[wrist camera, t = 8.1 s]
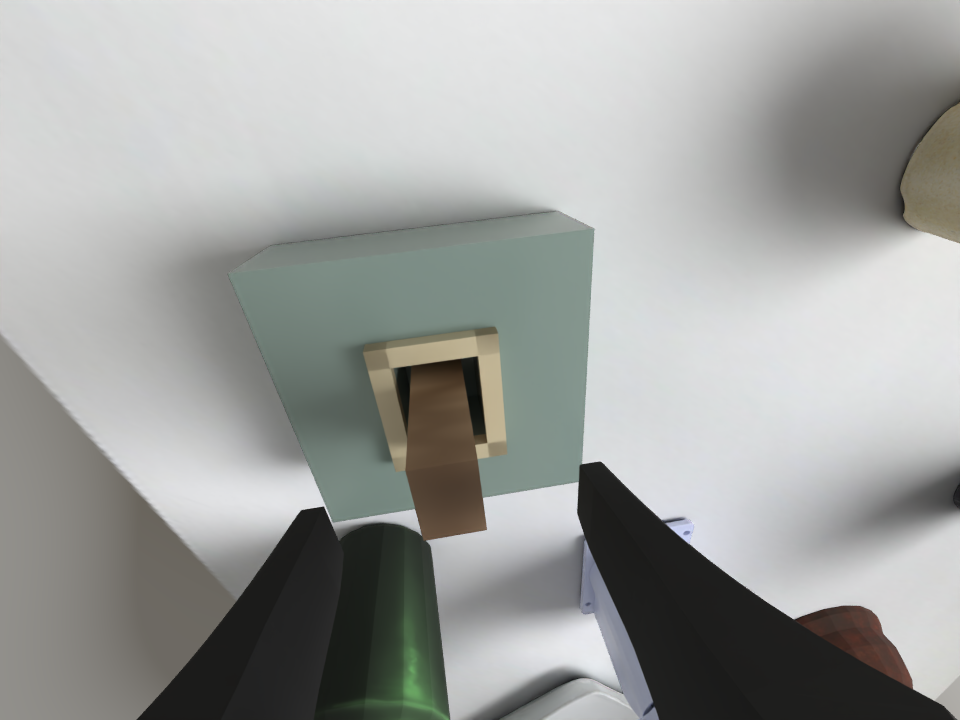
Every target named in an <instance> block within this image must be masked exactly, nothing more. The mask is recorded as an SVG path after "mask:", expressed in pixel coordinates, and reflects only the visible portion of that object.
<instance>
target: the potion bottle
mask: <svg viewBox="0 0 960 720" xmlns="http://www.w3.org/2000/svg"><path fill="white" fill-rule="evenodd" d="M339 543H340V545H341V548H342V550H343V552H344V557H343V568H342V579H341V587H340V595H339V600H338V604H337V609H336V614H335V619H334V623H333V628H332V633H331V637H330V642H329V646H328V651H327V655H326V660H325V664H324V669H323V674H322V678H321V683H320V687H319V692H318V698H317V703H316V709H315V714H314V720H450V713H449V704H448V695H447V686H446V677H445V668H444V659H443V650H442V641H441V632H440V623H439V614H438V605H437V596H436V588H435V579H434V570H433V561H432V554H431V547H430V545H429V544H428V543H427V542H426V541H423V537H422V536H421V535H420V534H419V533H417V532H415V531H413V530H411V529H408V528H406V527H404V526H399V525H392V524H377V525H370V526H365V527H362V528H360V529H358V530H355V531H353V532H351V533H349V534H347V535H346V536H345V537H344V538H342V539H341V540H340V541H339Z"/></svg>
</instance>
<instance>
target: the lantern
mask: <svg viewBox="0 0 960 720" xmlns="http://www.w3.org/2000/svg"><path fill="white" fill-rule="evenodd" d="M795 621H797V622H798V623H800V624H801V625H803V626H804V627H806V628H808V629H809V630H811V631H812V632H814V633H815V634H817V635H818V636H820V637H821V638H823V639H825V640H827V641H828V642H830V643H832V644H833V645H835V646H837V647H838V648H840V649H842V650H843V651H845V652H847V653H848V654H850V655H852V656H854V657H855V658H857V659H859V660H860V661H862V662H864V663H866V664H867V665H869V666H871V667H873V668H875V669H876V670H878V671H880V672H882V673H884V674H886V675H887V676H889V677H891V678H893V679H895V680H897V681H898V682H900V683H902V684H904V685H906V686H908V687H910V688H911V689H913V684H912V679H911V676H910V674H909V672H908V670H907V668H906V665H905V664H904V662H903V660H902V658H901V656H900V654H899V652H898V650H897V649H896V647H895V646H894V645H893V644H892V643H891V642H890V641H889V640H888V639H887V637H886V636H885V635H884V634H883V632H882V627H881V623H880V621H879V619H878V617H877V616H876V615H875V614H874V613H873V612H872V611H871V610H869V609H866V608H863V607H861V606H840V607H835V608H829V609H824V610H821V611H818V612H815V613H812V614H809V615H806V616H803V617H800V618H798V619H796V620H795Z"/></svg>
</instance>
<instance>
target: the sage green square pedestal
mask: <svg viewBox="0 0 960 720" xmlns="http://www.w3.org/2000/svg"><path fill="white" fill-rule="evenodd" d="M593 243H594V228H592V227H590V226H588V225H586V224H584V223H582V222H580V221H578V220H576V219H574V218H572V217H570V216H568V215H566V214H564V213H562V212H560V211H554V212H546V213H537V214H529V215H521V216H512V217H504V218H495V219H487V220H479V221H470V222H462V223H454V224H445V225H437V226H428V227H420V228H412V229H403V230H395V231H387V232H378V233H370V234H361V235H353V236H345V237H336V238H328V239H320V240H311V241H303V242H294V243H286V244H278V245H271V246H269V247H268V248H266V249H264V250H263V251H261V252H260V253H258V254H257V255H255V256H254V257H252V258H251V259H249V260H248V261H246V262H245V263H243V264H242V265H240V266H239V267H237V268H235V269H234V270H232V271H231V272H229V273H228V276H229V278H230V281H231V283H232V286H233V288H234V290H235V293H236V295H237V297H238V300H239V302H240V304H241V307H242V309H243V311H244V314H245V316H246V319H247V321H248V323H249V326H250V328H251V330H252V333H253V335H254V337H255V340H256V342H257V344H258V347H259V349H260V352H261V354H262V356H263V359H264V361H265V363H266V366H267V368H268V370H269V373H270V375H271V377H272V380H273V382H274V385H275V387H276V389H277V392H278V394H279V396H280V399H281V401H282V403H283V406H284V408H285V410H286V413H287V415H288V418H289V420H290V422H291V425H292V427H293V429H294V432H295V434H296V436H297V439H298V441H299V443H300V446H301V448H302V451H303V453H304V455H305V458H306V460H307V462H308V465H309V467H310V469H311V472H312V474H313V476H314V479H315V481H316V484H317V486H318V488H319V491H320V493H321V495H322V498H323V500H324V502H325V505H326V507H327V509H328V512H329V514H330V517H331V519H332V521H333V522H339V521H345V520H351V519H357V518H363V517H369V516H375V515H381V514H388V513H394V512H400V511H406V510H412V509H415V506H414V502H413V499H412V495H411V491H410V487H409V483H408V479H407V476H406V472H405V469H406V452H407V435H408V418H409V401H410V384H411V366H412V365H419V364H426V363H433V362H440V361H447V360H454V359H461V364H462V370H463V376H464V382H465V388H466V393H467V399H468V405H469V411H470V417H471V423H472V429H473V435H474V441H475V447H476V453H477V459H478V466H479V473H480V481H481V489H482V496H483V498H484V497H490V496H496V495H502V494H508V493H515V492H521V491H527V490H533V489H539V488H545V487H551V486H557V485H563V484H569V483H575V482H579V465H582V453H583V434H584V415H585V396H586V377H587V358H588V339H589V319H590V300H591V281H592V262H593Z"/></svg>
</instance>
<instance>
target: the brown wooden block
mask: <svg viewBox="0 0 960 720" xmlns="http://www.w3.org/2000/svg"><path fill="white" fill-rule="evenodd" d="M405 472H406V476H407V479H408V483H409V487H410V491H411V495H412V499H413V502H414V506H415V510H416V514H417V518H418V521H419V525H420V529H421V533H422V537H423V541H425V540H431V539H437V538H443V537H449V536H454V535H460V534H466V533H472V532H478V531H483V530H487V527H486V519H485V512H484V504H483V496H482V489H481V481H480V473H479V466H478V459H477V453H476V447H475V441H474V435H473V429H472V423H471V417H470V411H469V405H468V399H467V393H466V388H465V382H464V376H463V370H462V364H461V359H454V360H447V361H440V362H433V363H426V364H419V365H412V366H411V384H410V401H409V418H408V435H407V452H406V469H405Z"/></svg>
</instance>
